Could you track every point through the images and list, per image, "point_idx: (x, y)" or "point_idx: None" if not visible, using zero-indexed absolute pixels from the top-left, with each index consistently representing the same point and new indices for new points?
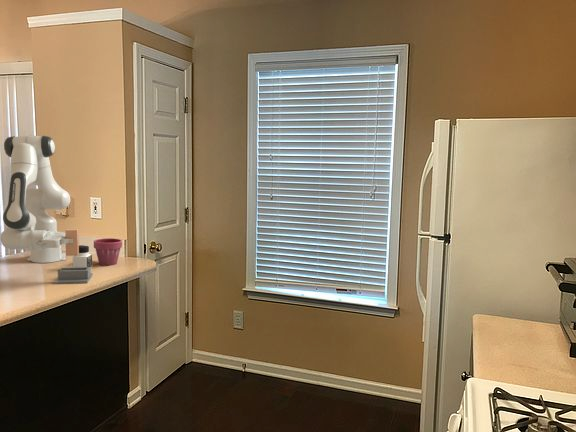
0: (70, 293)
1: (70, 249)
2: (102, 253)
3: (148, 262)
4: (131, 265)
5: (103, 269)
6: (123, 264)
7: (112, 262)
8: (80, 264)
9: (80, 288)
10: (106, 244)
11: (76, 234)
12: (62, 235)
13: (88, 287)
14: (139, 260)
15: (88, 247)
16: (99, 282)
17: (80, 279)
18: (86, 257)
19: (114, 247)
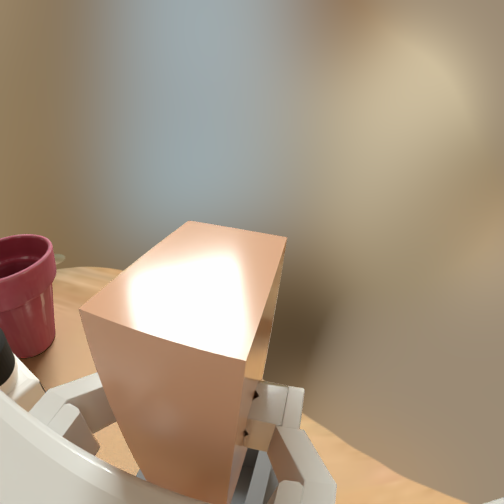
0: (444, 498)
1: (237, 472)
2: (26, 317)
3: (101, 271)
4: None
5: (90, 374)
6: (72, 313)
7: (54, 327)
8: None
9: (384, 483)
10: (35, 272)
11: (275, 301)
12: (73, 467)
13: (372, 458)
14: (64, 277)
15: (1, 330)
16: (303, 426)
17: (269, 489)
18: (38, 384)
19: (54, 270)
